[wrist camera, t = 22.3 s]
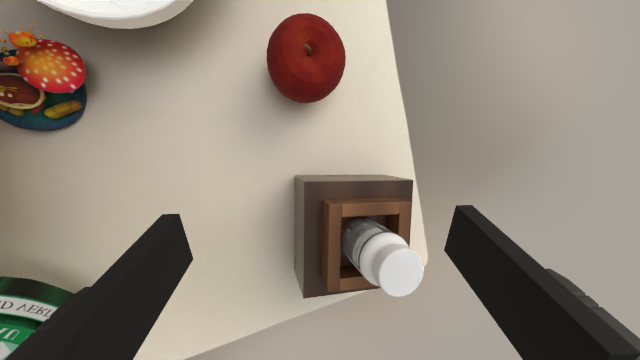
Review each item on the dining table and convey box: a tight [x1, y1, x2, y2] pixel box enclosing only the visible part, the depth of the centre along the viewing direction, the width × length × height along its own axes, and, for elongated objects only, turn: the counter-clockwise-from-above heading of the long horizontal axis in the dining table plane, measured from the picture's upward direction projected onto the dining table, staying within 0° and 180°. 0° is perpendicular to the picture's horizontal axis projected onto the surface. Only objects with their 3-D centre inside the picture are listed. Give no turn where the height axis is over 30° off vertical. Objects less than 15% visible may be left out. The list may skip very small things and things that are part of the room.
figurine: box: [0, 20, 86, 131], centre depth 24 cm, size 12×9×8 cm
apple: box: [267, 13, 346, 103], centre depth 31 cm, size 10×10×10 cm
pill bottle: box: [341, 217, 424, 297], centre depth 27 cm, size 6×6×10 cm
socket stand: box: [294, 175, 413, 298], centre depth 34 cm, size 15×15×11 cm
